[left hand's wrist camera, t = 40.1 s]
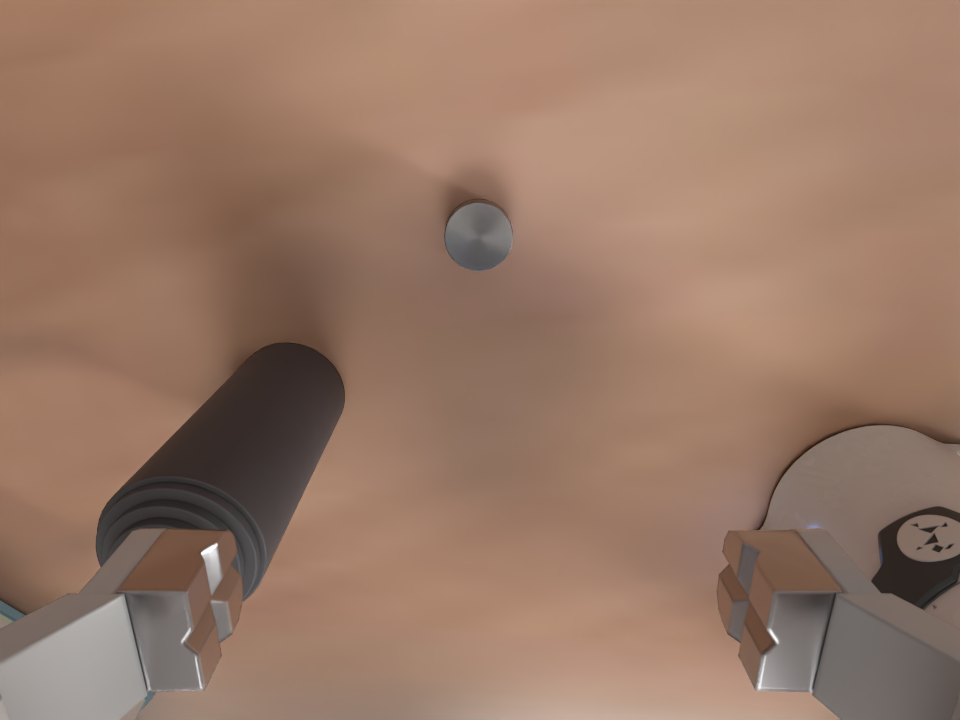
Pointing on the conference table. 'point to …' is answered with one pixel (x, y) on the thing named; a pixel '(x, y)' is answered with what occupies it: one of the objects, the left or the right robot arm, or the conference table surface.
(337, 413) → the bottle
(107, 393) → the conference table surface
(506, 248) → the cap
